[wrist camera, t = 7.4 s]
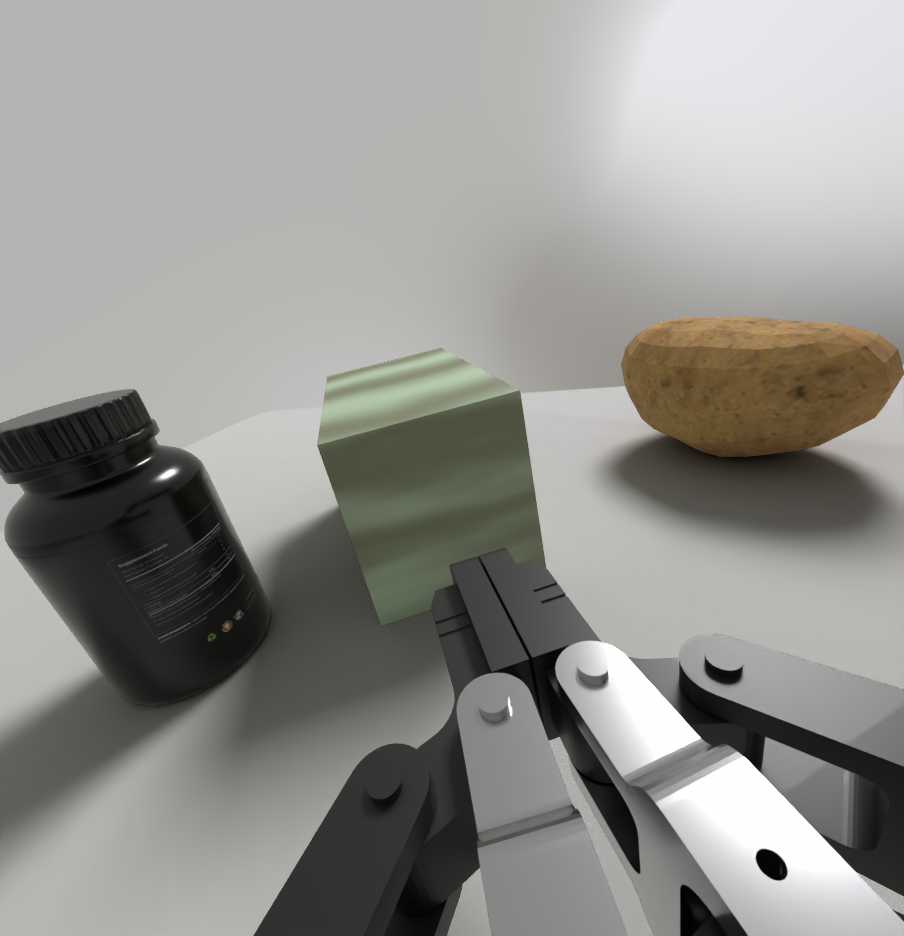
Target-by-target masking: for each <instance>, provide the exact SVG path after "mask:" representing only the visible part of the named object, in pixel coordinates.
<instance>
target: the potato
mask: <svg viewBox="0 0 904 936" xmlns="http://www.w3.org/2000/svg"><path fill="white" fill-rule="evenodd" d="M621 367H622V371H623V377H624V382H625V386H626V389H627V392H628V394H629V396H630V398H631V400H632V402H633V404H634V405H635V407H636V409H637V411H638V413H639V414H640V416H641V418H642V419H643V420H644V421H645V422H646V423H647V424H649V425H650V426H651V427H652V428H653V429H655V430H658V431H660V432H662V433H664V434H666V435H668V436H671V437H673V438H675V439H677V440H679V441H681V442H683V443H685V444H687V445H689V446H691V447H693V448H695V449H696V450H699V451H702V452H705V453H709V454H712V455H715V456H718V457H749V456H758V455H767V454H776V453H783V452H790V451H797V450H803V449H807V448H811V447H815V446H819V445H821V444H823V443H825V442H827V441H829V440H831V439H833V438H835V437H838V436H840V435H842V434H844V433H846V432H848V431H850V430H852V429H854V428H856V427H858V426H860V425H862V424H864V423H866V422H868V421H870V420H872V419H874V418H875V417H876V416H877V414H878V413H879V412H880V411H881V409H882V408H883V407H884V406H885V404H886V402H887V401H888V399H889V398H890V396H891V394H892V393H893V391H894V389H895V388H896V386H897V385H898V383H899V381H900V380H901V378H902V376H903V375H904V371H903V367H902V362H901V358H900V354H899V350H898V349H897V348H896V347H895V346H893V345H892V344H891V343H889V342H888V341H887V340H886V339H884V338H883V337H882V336H881V335H879V334H876V333H872V332H868V331H865V330H861V329H857V328H854V327H850V326H847V325H843V324H840V323H825V322H802V321H788V320H779V319H769V318H758V317H747V316H738V317H723V318H679V319H673V320H668V321H663V322H659V323H656V324H654V325H652V326H650V327H649V328H647V329H645V330H643V331H642V332H640V333H639V334H637V335H636V336H635V337H634V338H633V340H632V341H631V342H630V343H629V344H628V345H627V347H626V349H625V353H624V357H623V360H622V364H621Z"/></svg>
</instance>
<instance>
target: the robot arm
mask: <svg viewBox="0 0 904 936" xmlns="http://www.w3.org/2000/svg"><path fill="white" fill-rule="evenodd" d="M449 567H450V571H451V575H452V579H453V583H454V585H451V586H448V587H444V588H441V589H438V590H435V593H434V597H433V601H432V604H431V609H432V612H433V616H434V619H435V623H436V627H437V630H438V634H439V638H440V641H441V645H442V648H443V652H444V656H445V659H446V663H447V667H448V670H449V674H450V677H451V681H452V685H453V688H454V694H455V702H454V707H453V710H452V713H451V715H450V717H449V719H448V721H447V722H446V724H445V725H444V727H443V728H442V729H441V730H440V731H439V732H438V733H437V734H436V735H434V736H433V737H432V738H431V739H429V740H428V741H427V742H425V743H424V744H423V745H421V746H420V747H419V748H417V749H415V748H413V747H411V746H409V745H405V744H396V743H395V744H388V745H385V746H382V747H380V748H378V749H376V750H374V751H373V752H371V753H369V754H368V755H367V756H366V757H365V758H364V759H362V761H361V762H360V763H359V764H358V765H357V766H356V768H355V769H354V771H353V772H352V774H351V775H350V777H349V779H348V780H347V782H346V784H345V785H344V787H343V789H342V790H341V792H340V794H339V795H338V797H337V799H336V800H335V802H334V804H333V805H332V807H331V809H330V810H329V812H328V813H327V815H326V817H325V818H324V820H323V822H322V823H321V825H320V827H319V828H318V830H317V832H316V833H315V835H314V837H313V838H312V840H311V842H310V843H309V845H308V847H307V848H306V850H305V851H304V853H303V855H302V856H301V858H300V860H299V861H298V863H297V865H296V866H295V868H294V870H293V871H292V873H291V875H290V876H289V878H288V880H287V881H286V883H285V885H284V886H283V888H282V890H281V891H280V893H279V894H278V896H277V898H276V899H275V901H274V903H273V904H272V906H271V908H270V909H269V911H268V913H267V914H266V916H265V918H264V919H263V921H262V923H261V924H260V926H259V928H258V929H257V931H256V933H255V934H254V936H447V933H448V930H449V927H450V924H451V921H452V918H453V915H454V912H455V909H456V906H457V903H458V900H459V897H460V894H461V890H462V884H463V883H464V882H465V881H466V880H467V879H468V878H469V877H470V876H471V875H472V874H473V873H474V872H475V871H477V870H478V869H479V868H480V869H481V875H482V881H483V887H484V892H485V898H486V904H487V910H488V916H489V922H490V928H491V933H492V936H628V935H627V932H626V929H625V927H624V924H623V922H622V919H621V916H620V914H619V911H618V908H617V906H616V903H615V901H614V898H613V895H612V893H611V890H610V887H609V885H608V882H607V880H606V877H605V874H604V872H603V869H602V866H601V864H600V861H599V859H598V856H597V853H596V851H595V848H594V845H593V843H592V840H591V838H590V835H589V833H588V830H587V828H586V825H585V823H584V821H583V818H582V816H581V814H580V812H579V811H578V810H577V809H575V808H574V806H573V804H572V802H571V800H570V797H569V795H568V792H567V789H566V786H565V784H564V781H563V778H562V776H561V773H560V770H559V768H558V765H557V762H556V759H555V757H554V754H553V751H552V749H551V746H550V743H549V740H552V739H555V738H557V737H560V739H561V741H562V743H563V745H564V747H565V749H566V751H567V753H568V757H569V763H570V769H571V773H572V775H573V777H574V779H575V781H576V783H577V785H578V787H579V788H580V790H581V792H582V794H583V796H584V797H585V799H586V801H587V803H588V804H589V806H590V808H591V810H592V812H593V813H594V815H595V817H596V819H597V821H598V822H599V824H600V826H601V828H602V829H603V831H604V833H605V835H606V837H607V838H608V840H609V842H610V844H611V846H612V847H613V849H614V851H615V853H616V854H617V856H618V858H619V860H620V862H621V863H622V865H623V867H624V869H625V870H626V872H627V874H628V876H629V878H630V880H631V882H632V884H633V886H634V888H635V890H636V892H637V894H638V897H639V899H640V902H641V905H642V908H643V911H644V914H645V916H646V919H647V921H648V924H649V926H650V928H651V931H652V933H653V935H654V936H904V915H903V914H901V913H899V912H896V911H894V910H892V909H891V908H890V907H889V906H888V905H887V904H886V903H885V902H884V901H883V900H882V899H881V898H880V897H879V896H878V895H877V894H876V893H875V892H874V891H873V889H872V888H871V887H870V886H869V885H868V884H867V883H866V882H865V881H864V880H863V879H862V878H861V877H860V876H859V875H858V874H857V873H856V872H858V873H860V874H862V875H863V876H865V877H867V878H869V879H871V880H873V881H875V882H877V883H879V884H881V885H883V886H885V887H887V888H889V889H891V890H893V891H895V892H897V893H898V894H900V895H902V896H904V689H900V688H897V687H894V686H891V685H887V684H884V683H881V682H877V681H874V680H871V679H868V678H864V677H861V676H858V675H854V674H851V673H848V672H844V671H841V670H838V669H835V668H831V667H828V666H825V665H821V664H818V663H815V662H812V661H808V660H805V659H802V658H798V657H795V656H792V655H788V654H785V653H782V652H779V651H775V650H772V649H769V648H765V647H762V646H759V645H756V644H752V643H749V642H746V641H742V640H739V639H736V638H733V637H729V636H725V635H718V634H705V635H699V636H696V637H693V638H691V639H689V640H688V641H686V642H685V643H684V644H683V646H682V648H681V649H680V653H679V658H664V659H636V658H631V657H627V656H626V655H625V654H624V653H623V652H622V651H620V650H619V649H617V648H616V647H614V646H612V645H610V644H607V643H604V642H601V641H600V640H599V638H598V637H597V636H596V634H595V633H594V632H593V630H592V629H591V628H590V626H589V625H588V624H587V622H586V621H585V620H584V618H583V617H582V616H581V614H580V613H579V611H578V610H577V609H576V607H575V606H574V605H573V603H572V602H571V601H570V599H569V598H568V597H566V595H565V593H564V591H563V590H562V589H561V587H560V586H559V585H558V584H557V582H556V580H555V579H554V578H553V576H552V575H551V574H550V572H549V571H548V570H547V569H546V568H544V567H542V566H541V565H539V564H537V563H535V562H533V561H532V560H530V561H526V562H523V563H520V564H516V562H515V561H514V559H513V558H512V556H511V555H510V553H509V552H508V550H507V549H506V548H505V547H504V548H501V549H498V550H495V551H491V552H488V553H485V554H482V555H478V558H477V557H472V558H469V559H466V560H463V561H459V562H456V563H453V564H450V565H449ZM855 871H856V872H855Z"/></svg>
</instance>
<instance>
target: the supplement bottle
mask: <svg viewBox="0 0 904 936" xmlns="http://www.w3.org/2000/svg"><path fill="white" fill-rule="evenodd" d="M158 433H159V428H158V425H157V423H156V421H155V420H154V419H151V418H150V416H149V414H148V412H147V410H146V408H145V406H144V404H143V402H142V400H141V398H140V396H139V394H138V393H137V391H136V390H135V389H127V390H119V391H112V392H108V393H102V394H97V395H93V396H89V397H84V398H80V399H76V400H73V401H69V402H65V403H62V404H58V405H55V406H51V407H48V408H44V409H41V410H38V411H34V412H31V413H28V414H25V415H22V416H19V417H16V418H13V419H10V420H8V421H5V422H2V423H0V475H1V476H2V477H3V479H4V480H5V482H6V483H8V484H19V485H20V486H21V488H22V489H23V491H24V492H25V493H24V495H23V496H22V497H21V498H20V499H19V501H18V502H17V503H16V504H15V505H14V507H13V508H12V509H11V511H10V513H9V514H8V516H7V519H6V522H5V532H4V533H5V540H6V542H7V544H8V546H9V547H10V549H11V550H12V552H13V554H14V555H15V557H16V558H17V559H18V561H19V562H20V563H21V565H22V566H23V567H24V569H25V570H26V571H27V573H28V574H29V575H30V577H31V578H32V579H33V581H34V582H35V584H36V585H37V586H38V588H39V589H40V590H41V592H42V593H43V594H44V596H45V597H46V598H47V600H48V601H49V602H50V604H51V605H52V606H53V608H54V609H55V610H56V612H57V613H58V614H59V616H60V617H61V618H62V620H63V621H64V622H65V624H66V625H67V626H68V628H69V629H70V631H71V632H72V633H73V635H74V636H75V637H76V639H77V640H78V641H79V643H80V644H81V645H82V647H83V648H84V649H85V651H86V652H87V653H88V655H89V656H90V657H91V659H92V660H93V661H94V663H95V664H96V665H97V667H98V668H99V669H100V671H101V672H102V673H103V675H104V676H105V677H106V679H107V680H108V681H109V682H110V684H111V685H112V686H113V688H114V689H115V690H116V691H117V692H118V693H119V695H120V696H122V697H123V698H124V699H126V700H128V701H130V702H132V703H135V704H141V705H161V704H167V703H171V702H175V701H179V700H182V699H185V698H187V697H190V696H192V695H194V694H197V693H199V692H201V691H203V690H205V689H207V688H208V687H210V686H212V685H214V684H215V683H217V682H218V681H220V680H221V679H223V678H224V677H226V676H227V675H228V674H230V673H231V672H232V671H233V670H235V669H236V668H237V667H238V666H239V665H240V664H241V663H242V662H243V661H244V660H245V659H246V658H247V657H248V656H249V655H250V654H251V653H252V652H253V651H254V649H255V648H256V647H257V645H258V644H259V642H260V641H261V639H262V637H263V636H264V634H265V632H266V629H267V626H268V623H269V619H270V605H269V602H268V599H267V597H266V594H265V592H264V590H263V588H262V586H261V584H260V581H259V579H258V577H257V575H256V573H255V571H254V569H253V567H252V565H251V562H250V560H249V558H248V556H247V554H246V552H245V550H244V548H243V546H242V544H241V541H240V539H239V537H238V535H237V533H236V531H235V529H234V527H233V525H232V523H231V521H230V518H229V516H228V514H227V512H226V510H225V508H224V506H223V504H222V502H221V500H220V497H219V495H218V493H217V491H216V489H215V487H214V485H213V483H212V481H211V479H210V477H209V474H208V472H207V470H206V469H205V467H204V465H203V463H202V462H201V461H200V460H199V459H198V458H197V457H195V456H194V455H193V454H191V453H189V452H187V451H185V450H183V449H179V448H175V447H169V446H162V445H158V443H157V441H156V439H155V436H156V435H157V434H158Z"/></svg>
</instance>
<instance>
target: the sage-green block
mask: <svg viewBox="0 0 904 936" xmlns="http://www.w3.org/2000/svg"><path fill="white" fill-rule="evenodd" d="M317 446H318V449H319V451H320V454H321V457H322V460H323V463H324V466H325V468H326V471H327V474H328V477H329V480H330V483H331V485H332V488H333V491H334V494H335V497H336V499H337V502H338V505H339V508H340V511H341V514H342V516H343V519H344V522H345V525H346V528H347V531H348V533H349V536H350V539H351V542H352V545H353V547H354V550H355V553H356V556H357V559H358V562H359V564H360V567H361V570H362V573H363V576H364V579H365V581H366V584H367V587H368V590H369V593H370V595H371V598H372V601H373V604H374V607H375V610H376V612H377V615H378V618H379V621H380V624H381V626H384V625H387V624H390V623H393V622H396V621H399V620H402V619H405V618H408V617H411V616H414V615H417V614H420V613H423V612H426V611H429V610H432V609H431V604H432V601H433V597H434V593H435V590H438V589H441V588H444V587H448V586H451V585H454V583H453V579H452V575H451V571H450V567H449V565H450V564H453V563H456V562H459V561H463V560H466V559H469V558H472V557H477V558H478V555H482V554H485V553H488V552H491V551H495V550H498V549H501V548H504V547H505V548H506V549H507V550H508V552H509V553H510V555H511V556H512V558H513V559H514V561H515V562H516V564H520V563H523V562H526V561H530V560H532V561H533V562H535V563H537V564H539V565H541V566H542V567H544V568H546V564H545V558H544V551H543V544H542V537H541V530H540V524H539V517H538V510H537V503H536V496H535V490H534V483H533V476H532V469H531V462H530V456H529V449H528V442H527V435H526V428H525V422H524V415H523V408H522V401H521V394H520V390H518V389H517V388H515V387H513V386H511V385H509V384H507V383H505V382H504V381H501V380H500V379H498V378H496V377H494V376H492V375H490V374H488V373H487V372H485V371H483V370H481V369H479V368H477V367H475V366H474V365H472V364H470V363H468V362H466V361H464V360H462V359H460V358H458V357H457V356H455V355H453V354H451V353H449V352H447V351H445V350H444V349H442V348H439V349H436V350H432V351H427V352H424V353H419V354H416V355H412V356H407V357H403V358H399V359H395V360H391V361H388V362H384V363H380V364H376V365H372V366H368V367H364V368H360V369H356V370H352V371H348V372H344V373H340V374H336V375H332V376H328V377H327V383H326V390H325V397H324V404H323V410H322V416H321V423H320V430H319V437H318V443H317Z"/></svg>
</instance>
